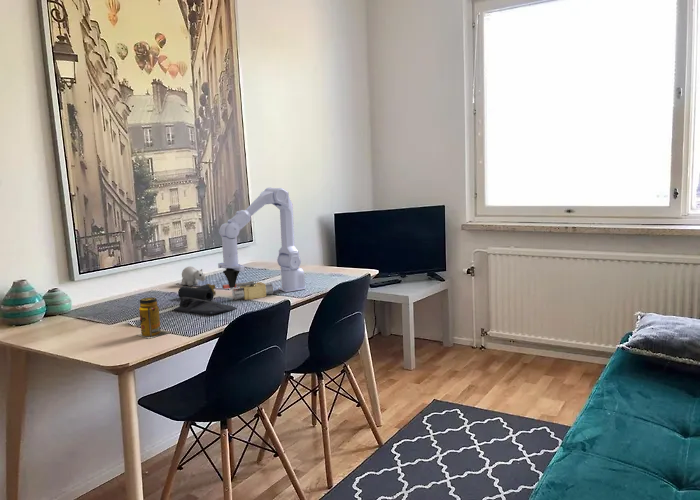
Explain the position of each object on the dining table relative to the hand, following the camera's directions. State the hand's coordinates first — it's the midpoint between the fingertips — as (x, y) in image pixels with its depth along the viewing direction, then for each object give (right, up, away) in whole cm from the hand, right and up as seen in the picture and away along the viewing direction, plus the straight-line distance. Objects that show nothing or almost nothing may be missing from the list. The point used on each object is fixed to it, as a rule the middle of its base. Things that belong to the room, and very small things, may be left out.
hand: (232, 287), depth 239 cm
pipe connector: (-14, -5, +8) cm, 17 cm away
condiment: (-17, -13, -42) cm, 47 cm away
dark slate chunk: (-8, -8, -12) cm, 16 cm away
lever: (+2, 0, +3) cm, 4 cm away
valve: (+7, -4, +6) cm, 10 cm away
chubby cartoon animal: (-24, -1, +33) cm, 41 cm away
